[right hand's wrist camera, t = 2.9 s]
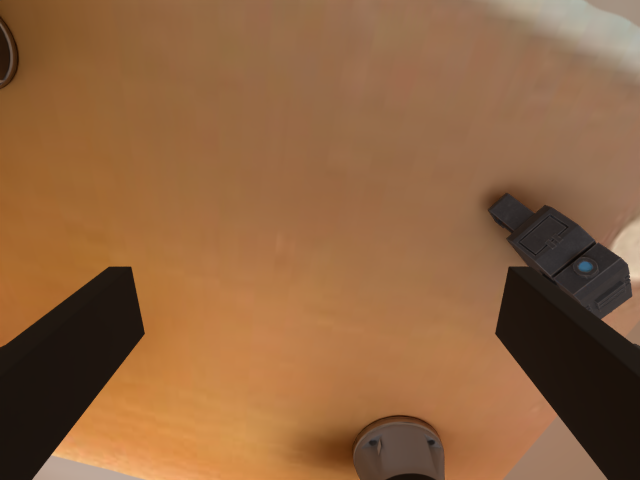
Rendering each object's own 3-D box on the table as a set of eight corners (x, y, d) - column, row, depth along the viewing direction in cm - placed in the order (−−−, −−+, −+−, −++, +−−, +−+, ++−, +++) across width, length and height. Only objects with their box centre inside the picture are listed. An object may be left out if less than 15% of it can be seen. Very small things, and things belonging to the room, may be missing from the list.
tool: (509, 174, 42) (634, 256, 32) (546, 235, 55) (643, 308, 45) (469, 211, 44) (576, 300, 33) (514, 262, 57) (601, 338, 46)
